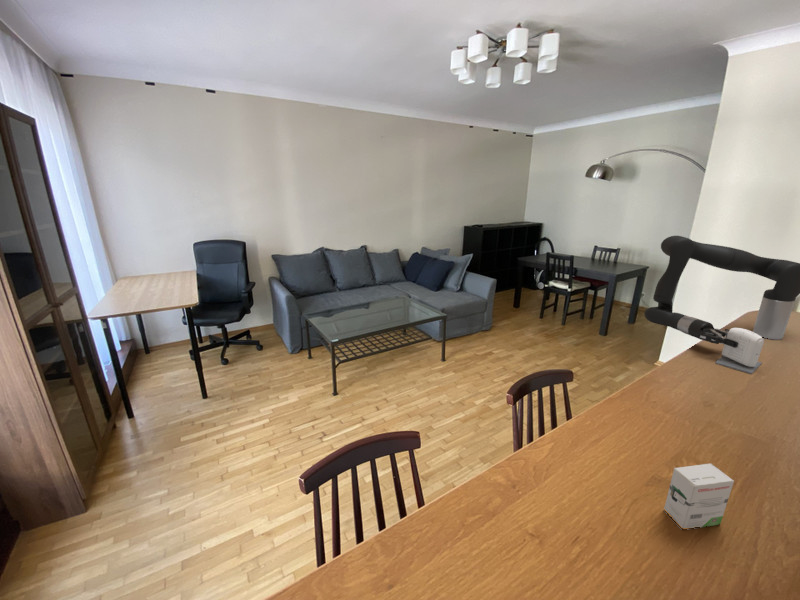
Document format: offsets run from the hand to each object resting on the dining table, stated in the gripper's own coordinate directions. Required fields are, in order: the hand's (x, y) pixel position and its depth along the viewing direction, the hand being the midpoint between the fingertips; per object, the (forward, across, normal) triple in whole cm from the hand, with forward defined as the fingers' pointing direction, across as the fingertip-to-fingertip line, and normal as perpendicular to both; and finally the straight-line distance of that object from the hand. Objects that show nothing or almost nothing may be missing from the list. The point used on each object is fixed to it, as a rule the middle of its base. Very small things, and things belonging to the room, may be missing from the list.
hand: (742, 344), depth 124 cm
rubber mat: (0, 0, +8) cm, 8 cm away
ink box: (+45, -79, +8) cm, 91 cm away
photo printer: (0, 0, +7) cm, 7 cm away
